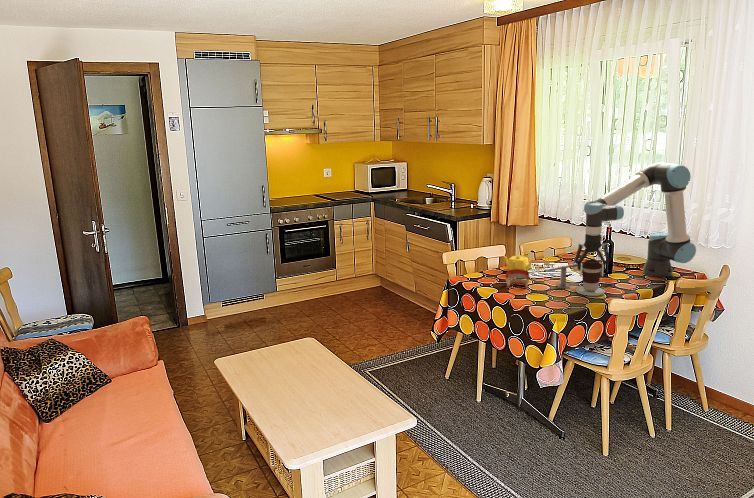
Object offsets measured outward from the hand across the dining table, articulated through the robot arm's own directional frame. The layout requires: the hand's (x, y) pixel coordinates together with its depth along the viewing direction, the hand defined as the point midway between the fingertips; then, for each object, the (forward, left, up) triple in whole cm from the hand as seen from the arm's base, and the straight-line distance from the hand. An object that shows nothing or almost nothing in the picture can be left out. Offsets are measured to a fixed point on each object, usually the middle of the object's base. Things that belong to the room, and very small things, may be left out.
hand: (591, 275), depth 289 cm
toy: (+36, -12, -10) cm, 39 cm away
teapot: (+33, -39, -10) cm, 52 cm away
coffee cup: (0, 0, -7) cm, 7 cm away
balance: (+12, -10, -9) cm, 18 cm away
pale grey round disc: (0, 0, -9) cm, 9 cm away
